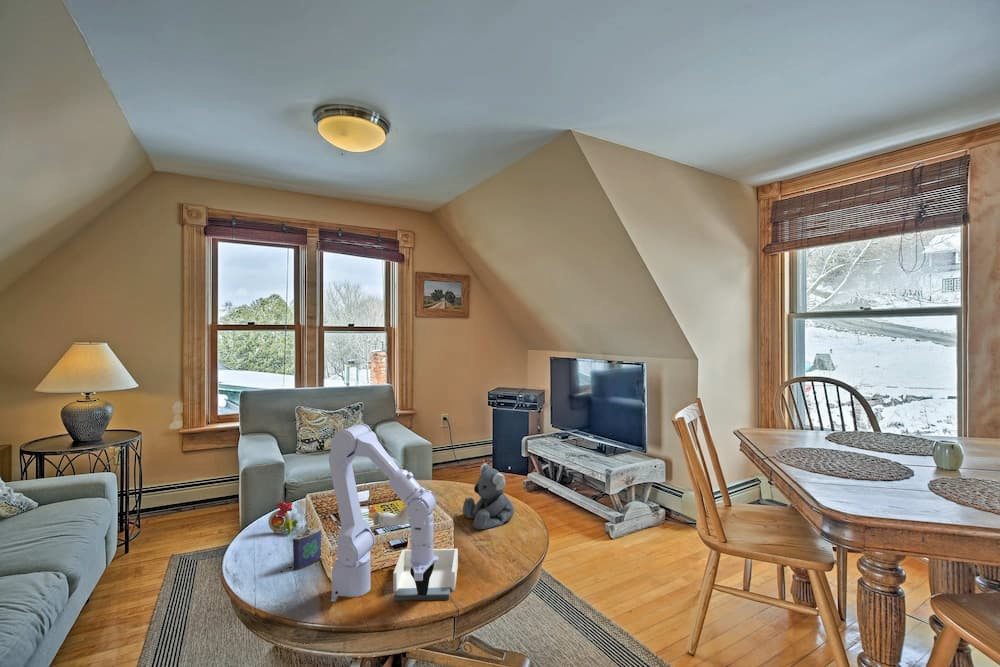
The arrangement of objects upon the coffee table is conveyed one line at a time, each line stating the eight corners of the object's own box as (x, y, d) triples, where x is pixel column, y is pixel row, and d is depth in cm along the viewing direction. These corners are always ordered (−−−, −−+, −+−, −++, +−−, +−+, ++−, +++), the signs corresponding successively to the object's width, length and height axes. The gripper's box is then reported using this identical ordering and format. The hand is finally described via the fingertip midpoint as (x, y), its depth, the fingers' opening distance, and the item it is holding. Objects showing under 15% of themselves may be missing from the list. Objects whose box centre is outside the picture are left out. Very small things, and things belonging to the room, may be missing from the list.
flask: (318, 555, 144) (318, 521, 144) (324, 558, 143) (324, 523, 143) (291, 568, 137) (291, 532, 137) (297, 571, 135) (297, 534, 135)
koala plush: (460, 515, 176) (459, 463, 176) (503, 507, 184) (502, 457, 184) (477, 532, 161) (477, 476, 161) (523, 523, 168) (523, 469, 168)
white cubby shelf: (393, 596, 122) (393, 573, 122) (402, 570, 135) (402, 549, 135) (454, 594, 123) (454, 572, 122) (457, 569, 136) (457, 548, 136)
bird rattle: (272, 543, 158) (298, 530, 159) (258, 514, 157) (284, 501, 158) (278, 535, 164) (303, 523, 165) (264, 507, 163) (289, 495, 165)
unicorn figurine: (425, 548, 149) (425, 506, 149) (365, 547, 150) (365, 505, 150) (430, 538, 156) (430, 498, 156) (373, 537, 157) (372, 497, 157)
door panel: (398, 592, 123) (394, 600, 118) (398, 588, 123) (394, 596, 118) (450, 591, 123) (448, 599, 118) (450, 587, 123) (448, 594, 118)
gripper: (434, 554, 112) (435, 610, 112) (440, 528, 126) (441, 578, 126) (405, 554, 112) (405, 611, 112) (414, 529, 126) (415, 579, 126)
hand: (422, 594), depth 119 cm, fingers closed, pressing on door panel
